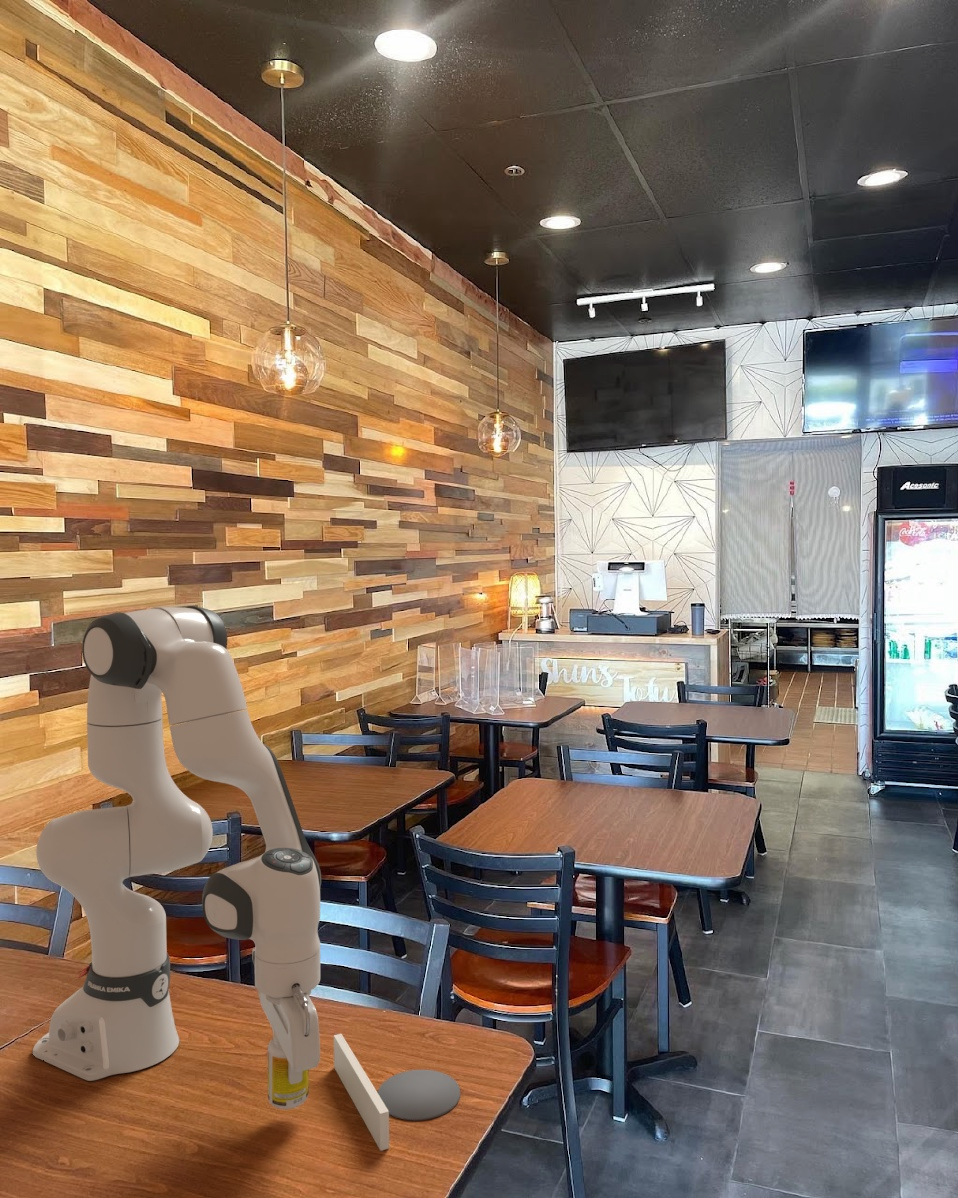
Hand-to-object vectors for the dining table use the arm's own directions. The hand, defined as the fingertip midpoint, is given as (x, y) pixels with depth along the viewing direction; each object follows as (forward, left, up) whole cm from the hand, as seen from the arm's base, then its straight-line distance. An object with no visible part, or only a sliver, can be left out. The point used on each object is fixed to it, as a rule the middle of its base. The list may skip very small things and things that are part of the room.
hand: (288, 1067), depth 126 cm
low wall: (+8, +6, -8) cm, 12 cm away
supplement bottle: (0, 0, -5) cm, 5 cm away
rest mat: (+15, +11, -8) cm, 20 cm away
